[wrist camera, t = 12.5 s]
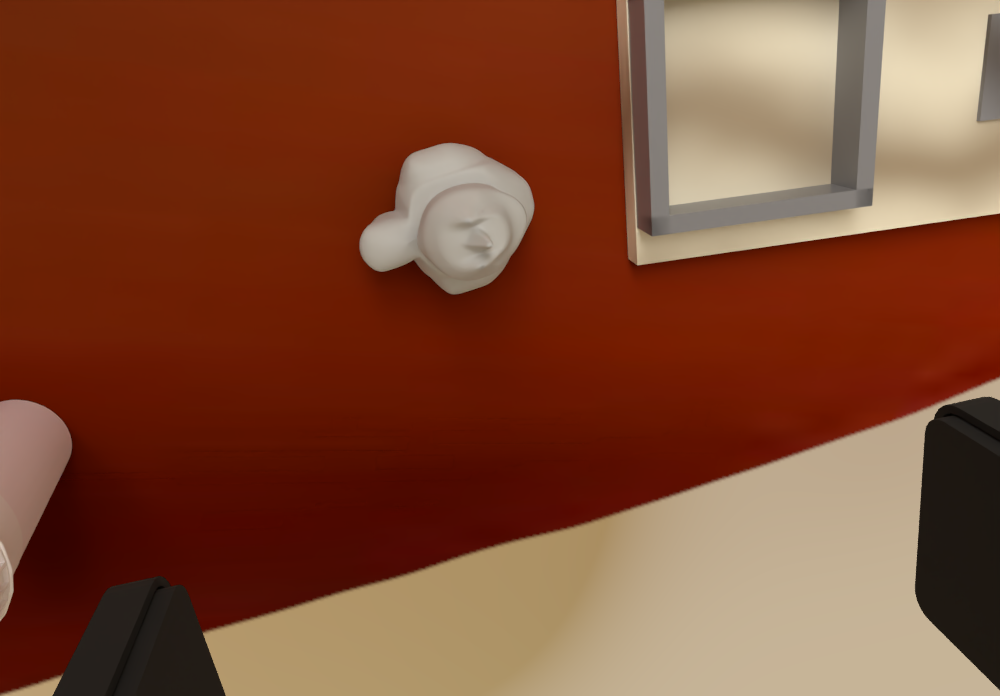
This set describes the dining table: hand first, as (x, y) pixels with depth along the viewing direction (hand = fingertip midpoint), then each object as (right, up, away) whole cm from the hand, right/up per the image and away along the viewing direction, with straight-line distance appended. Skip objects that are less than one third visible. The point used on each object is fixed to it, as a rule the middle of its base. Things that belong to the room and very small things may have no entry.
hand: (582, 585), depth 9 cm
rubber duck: (-3, +8, +21) cm, 23 cm away
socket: (+8, +13, +20) cm, 25 cm away
